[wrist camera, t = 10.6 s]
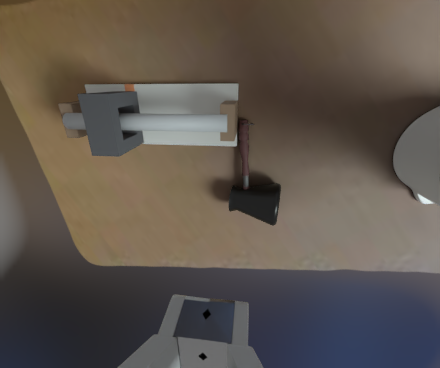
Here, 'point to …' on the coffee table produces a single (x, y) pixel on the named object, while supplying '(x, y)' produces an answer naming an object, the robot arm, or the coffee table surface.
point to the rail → (170, 113)
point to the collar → (109, 122)
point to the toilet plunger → (254, 188)
